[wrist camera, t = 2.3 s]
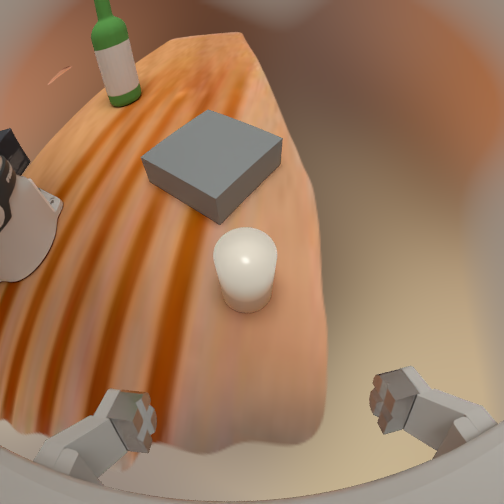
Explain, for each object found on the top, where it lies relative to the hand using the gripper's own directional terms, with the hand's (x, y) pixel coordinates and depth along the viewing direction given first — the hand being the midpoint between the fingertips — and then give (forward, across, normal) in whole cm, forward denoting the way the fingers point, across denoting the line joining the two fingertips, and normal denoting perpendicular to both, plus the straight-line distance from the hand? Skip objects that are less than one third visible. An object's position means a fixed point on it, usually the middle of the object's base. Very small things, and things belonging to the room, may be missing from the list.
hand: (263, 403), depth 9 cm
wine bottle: (+56, +26, -29) cm, 68 cm away
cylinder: (+22, 0, +5) cm, 23 cm away
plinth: (+36, +4, -9) cm, 37 cm away
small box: (+42, +52, -16) cm, 69 cm away
